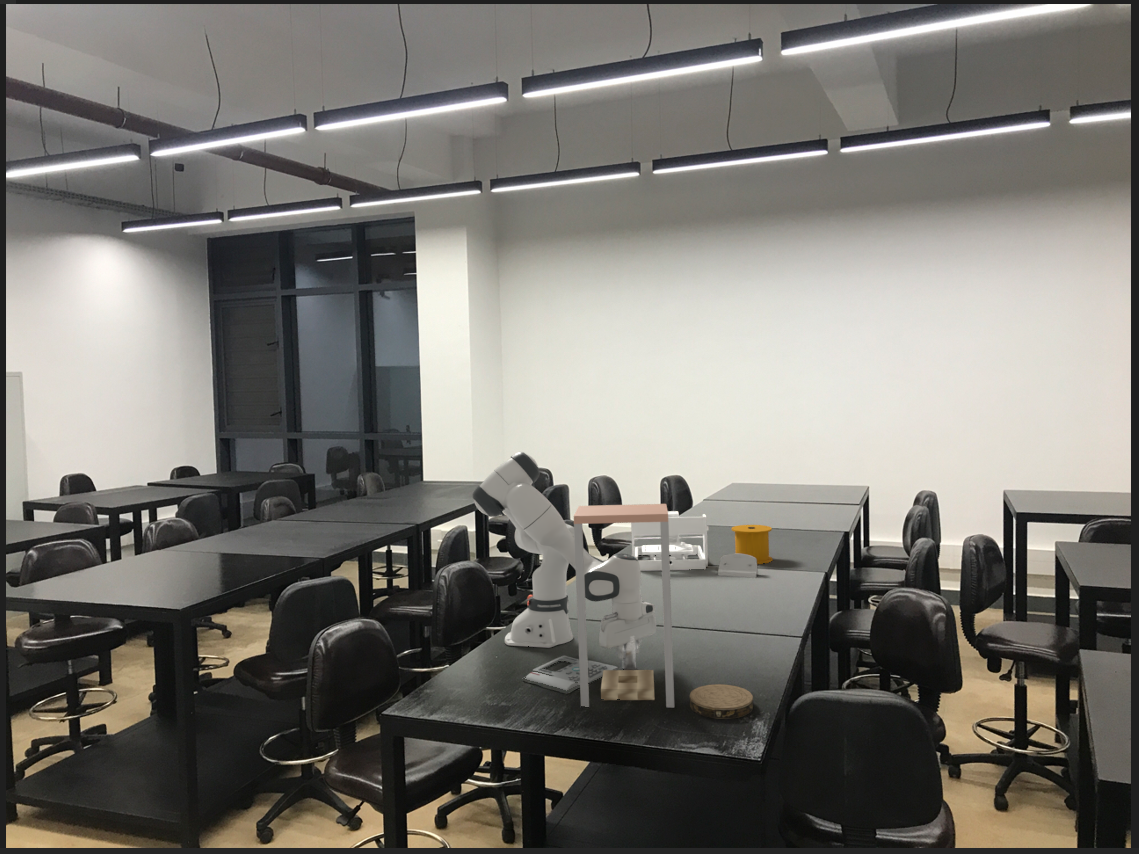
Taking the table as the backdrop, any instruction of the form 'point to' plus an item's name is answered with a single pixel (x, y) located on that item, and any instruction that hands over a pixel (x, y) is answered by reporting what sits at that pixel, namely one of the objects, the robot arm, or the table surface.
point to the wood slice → (721, 701)
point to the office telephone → (568, 673)
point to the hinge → (738, 565)
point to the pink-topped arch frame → (584, 517)
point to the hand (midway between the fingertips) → (628, 656)
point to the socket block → (627, 685)
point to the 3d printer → (672, 543)
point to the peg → (629, 655)
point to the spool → (753, 541)
